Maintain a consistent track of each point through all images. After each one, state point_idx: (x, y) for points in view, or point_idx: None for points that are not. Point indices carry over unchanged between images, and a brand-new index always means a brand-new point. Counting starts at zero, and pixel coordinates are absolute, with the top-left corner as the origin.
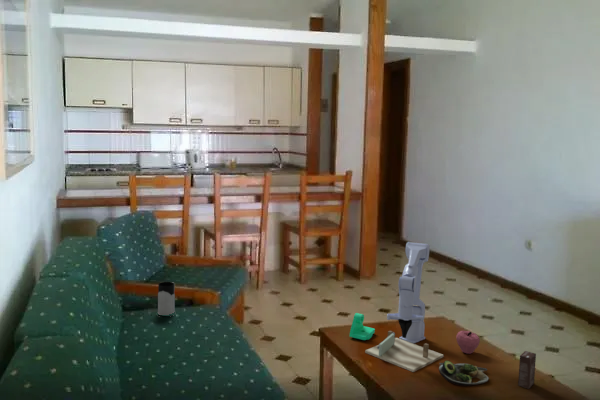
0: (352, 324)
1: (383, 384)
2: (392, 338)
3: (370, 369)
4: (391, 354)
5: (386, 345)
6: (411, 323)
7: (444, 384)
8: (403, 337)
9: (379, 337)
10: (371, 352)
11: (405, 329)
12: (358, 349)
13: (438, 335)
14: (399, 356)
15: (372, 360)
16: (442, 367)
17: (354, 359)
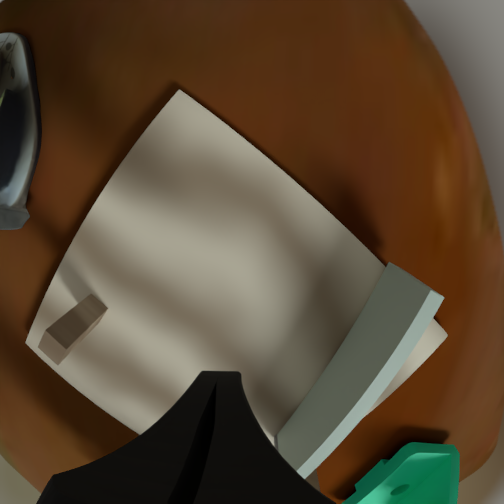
0: (456, 489)
1: None
2: (297, 451)
3: (440, 108)
4: (311, 315)
5: (355, 365)
6: (39, 498)
7: (57, 18)
8: (229, 371)
9: (326, 485)
10: None
11: (193, 438)
12: (457, 357)
13: None
14: (258, 293)
15: (426, 233)
16: (14, 128)
17: (497, 232)
